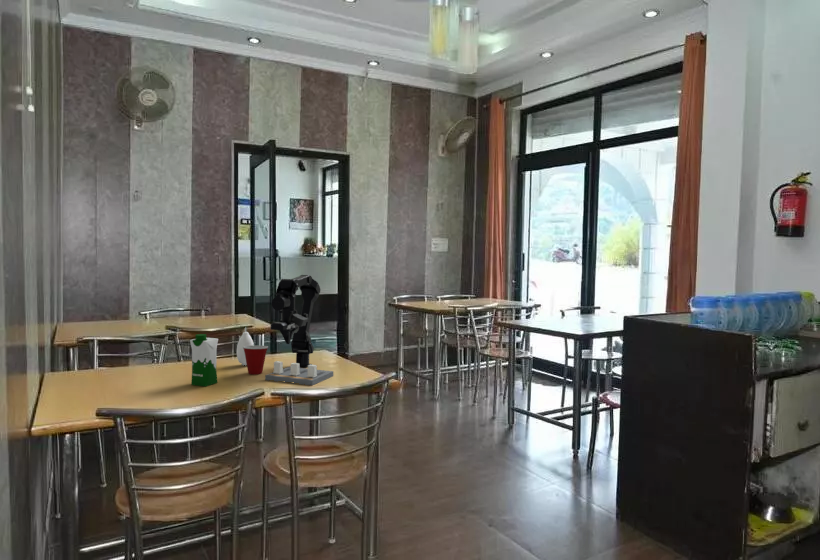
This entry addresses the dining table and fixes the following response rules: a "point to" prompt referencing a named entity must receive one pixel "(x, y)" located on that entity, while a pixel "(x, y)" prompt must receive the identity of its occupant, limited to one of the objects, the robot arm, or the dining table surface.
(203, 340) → the milk carton
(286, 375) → the breaker panel
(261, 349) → the plastic cup
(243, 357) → the sauce bottle
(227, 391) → the dining table surface
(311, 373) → the block
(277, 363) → the block
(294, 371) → the block
